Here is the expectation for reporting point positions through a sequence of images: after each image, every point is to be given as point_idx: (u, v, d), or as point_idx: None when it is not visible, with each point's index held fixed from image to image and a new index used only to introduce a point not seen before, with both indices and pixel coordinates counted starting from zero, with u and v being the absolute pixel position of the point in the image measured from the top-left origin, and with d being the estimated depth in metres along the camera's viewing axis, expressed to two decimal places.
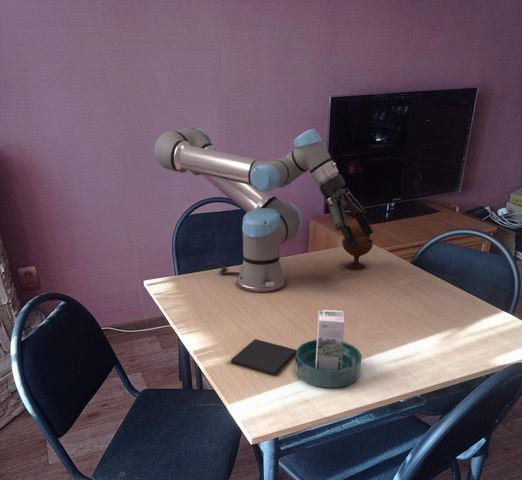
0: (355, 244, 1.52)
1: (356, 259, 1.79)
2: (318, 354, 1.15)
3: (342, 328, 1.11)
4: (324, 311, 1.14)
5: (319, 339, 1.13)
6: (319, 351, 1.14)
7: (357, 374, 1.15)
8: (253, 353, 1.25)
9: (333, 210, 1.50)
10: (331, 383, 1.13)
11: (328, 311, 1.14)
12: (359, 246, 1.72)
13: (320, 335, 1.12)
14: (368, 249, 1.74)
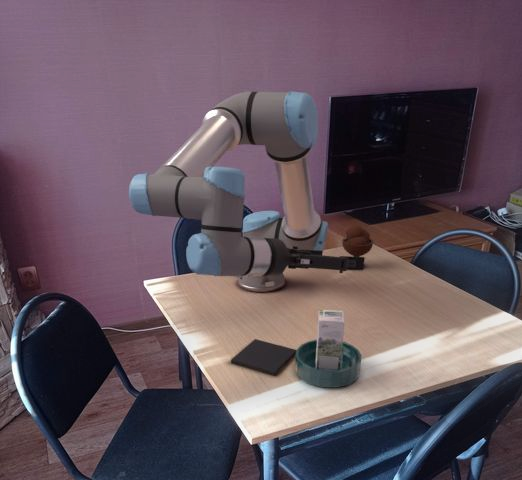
0: None
1: None
2: (318, 354, 1.15)
3: (342, 328, 1.11)
4: (324, 311, 1.14)
5: (319, 339, 1.13)
6: (319, 351, 1.14)
7: (357, 374, 1.15)
8: (253, 353, 1.25)
9: None
10: (331, 383, 1.13)
11: (328, 311, 1.14)
12: (359, 246, 1.72)
13: (320, 335, 1.12)
14: (368, 249, 1.74)
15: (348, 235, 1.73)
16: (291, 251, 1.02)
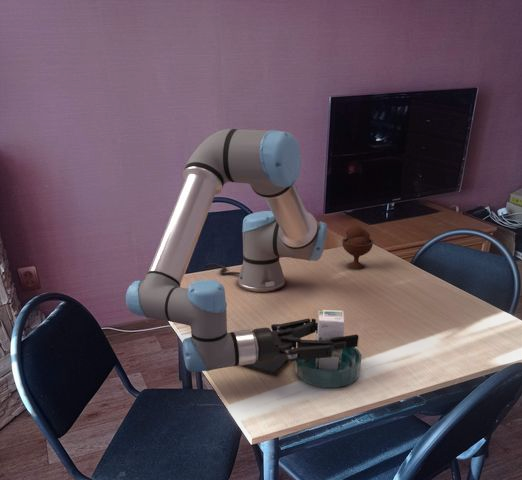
0: None
1: (356, 259, 1.79)
2: None
3: (342, 328, 1.11)
4: (324, 311, 1.14)
5: (319, 339, 1.13)
6: None
7: (357, 374, 1.15)
8: None
9: None
10: (331, 383, 1.13)
11: (328, 311, 1.14)
12: (359, 246, 1.72)
13: (320, 335, 1.12)
14: (368, 249, 1.74)
15: (348, 235, 1.73)
16: (282, 340, 1.10)
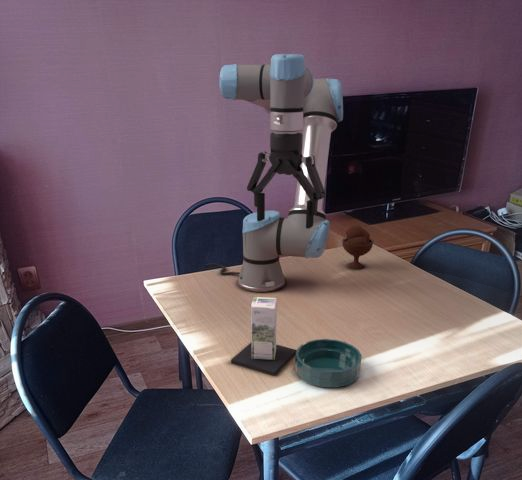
0: None
1: (356, 259, 1.79)
2: (252, 339, 1.20)
3: (273, 314, 1.16)
4: (258, 298, 1.19)
5: (252, 325, 1.18)
6: (253, 337, 1.19)
7: (357, 374, 1.15)
8: None
9: None
10: (331, 383, 1.13)
11: (262, 298, 1.19)
12: (359, 246, 1.72)
13: (253, 321, 1.17)
14: (368, 249, 1.74)
15: (348, 235, 1.73)
16: None
